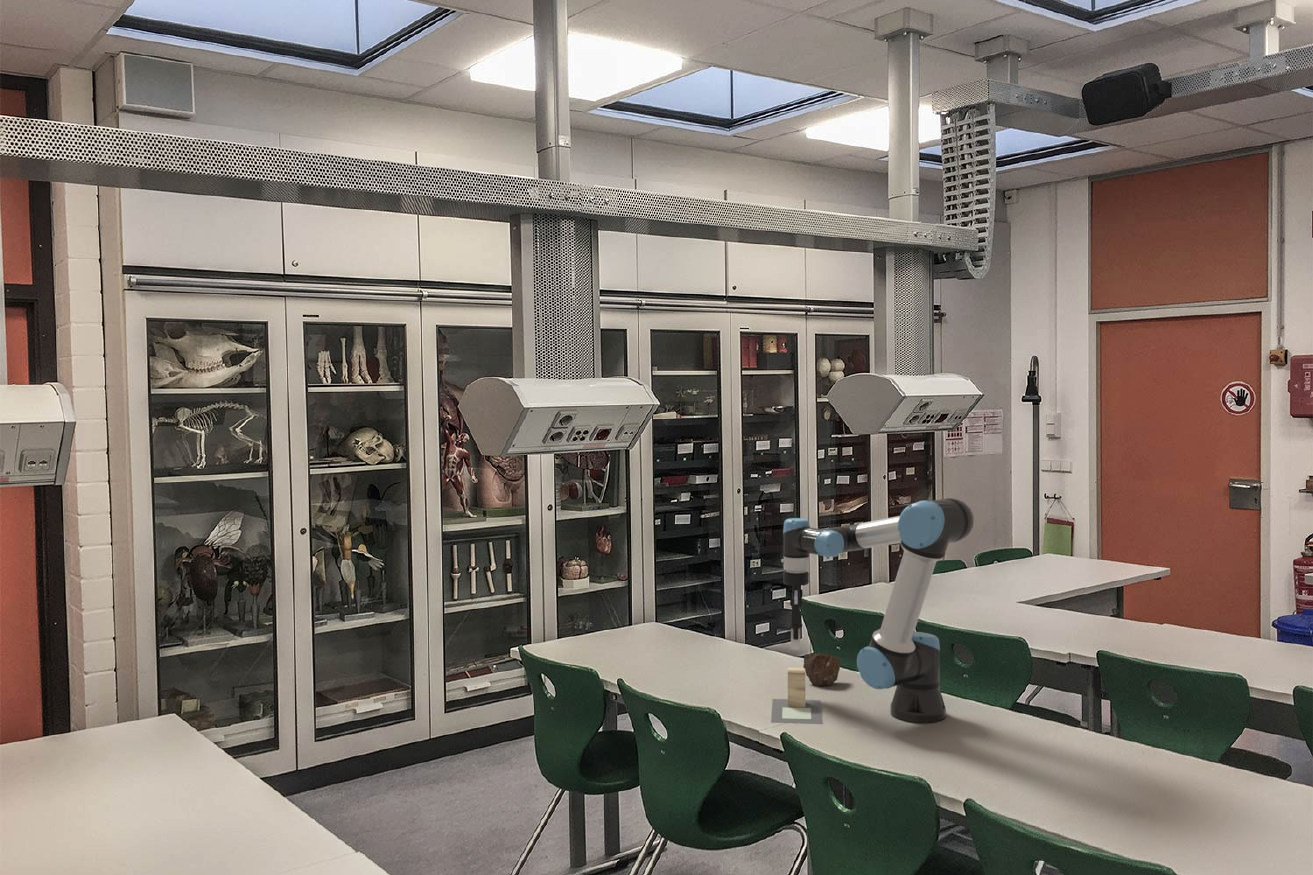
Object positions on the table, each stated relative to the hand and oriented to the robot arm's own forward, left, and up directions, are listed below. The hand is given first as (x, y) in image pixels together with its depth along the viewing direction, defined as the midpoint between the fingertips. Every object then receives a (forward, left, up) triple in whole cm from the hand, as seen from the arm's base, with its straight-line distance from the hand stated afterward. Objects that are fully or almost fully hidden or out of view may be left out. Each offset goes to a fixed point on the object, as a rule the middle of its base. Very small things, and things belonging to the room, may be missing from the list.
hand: (795, 649), depth 308 cm
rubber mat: (-13, +8, -14) cm, 21 cm away
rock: (+7, -14, -15) cm, 21 cm away
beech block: (-8, +5, -14) cm, 17 cm away
